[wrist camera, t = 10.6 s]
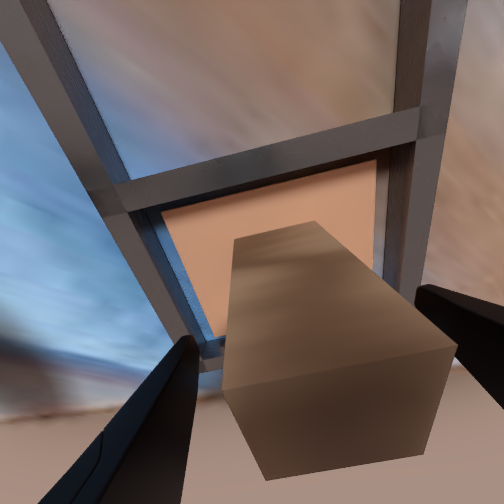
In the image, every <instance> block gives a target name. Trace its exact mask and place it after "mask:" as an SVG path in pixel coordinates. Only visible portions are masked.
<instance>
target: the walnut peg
mask: <svg viewBox="0 0 504 504" xmlns="http://www.w3.org/2000/svg"><path fill="white" fill-rule="evenodd" d="M457 346H458V345H457V344H456V343H455V342H454V341H453V340H451V339H450V338H449V337H448V336H447V335H446V334H445V333H443V332H442V331H441V330H440V329H439V328H438V327H437V326H435V325H434V324H433V323H432V322H431V321H430V320H428V319H427V318H426V317H425V316H424V315H423V314H422V313H420V312H419V311H418V310H417V309H416V308H415V307H413V306H412V305H411V304H410V303H409V302H408V301H407V300H405V299H404V298H403V297H402V296H401V295H400V294H399V293H397V292H396V291H395V290H394V289H393V288H392V287H390V286H389V285H388V284H387V283H386V282H385V281H384V280H382V279H381V278H380V277H379V276H378V275H377V274H376V273H374V272H373V271H372V270H371V269H370V268H369V267H367V266H366V265H365V264H364V263H363V262H362V261H361V260H359V259H358V258H357V257H356V256H355V255H354V254H353V253H351V252H350V251H349V250H348V249H347V248H346V247H344V246H343V245H342V244H341V243H340V242H339V241H338V240H336V239H335V238H334V237H333V236H332V235H331V234H330V233H328V232H327V231H326V230H325V229H324V228H323V227H321V226H320V225H319V224H318V223H317V222H316V221H315V220H314V221H310V222H306V223H301V224H297V225H293V226H288V227H284V228H280V229H275V230H271V231H267V232H262V233H258V234H254V235H249V236H245V237H241V238H237V239H234V245H233V257H232V269H231V281H230V293H229V305H228V317H227V329H226V342H225V354H224V366H223V378H222V390H221V391H222V393H223V395H224V397H225V399H226V401H227V403H228V405H229V407H230V409H231V411H232V413H233V415H234V417H235V419H236V421H237V423H238V425H239V427H240V429H241V431H242V433H243V436H244V438H245V440H246V442H247V443H248V446H249V448H250V450H251V452H252V454H253V456H254V458H255V460H256V462H257V464H258V466H259V468H260V470H261V472H262V474H263V476H264V478H265V480H267V481H268V480H274V479H280V478H286V477H291V476H297V475H303V474H309V473H315V472H321V471H327V470H333V469H339V468H345V467H351V466H357V465H363V464H369V463H375V462H381V461H387V460H393V459H399V458H405V457H411V456H417V455H423V454H424V451H425V447H426V444H427V441H428V438H429V434H430V432H431V428H432V425H433V422H434V419H435V416H436V413H437V409H438V406H439V403H440V400H441V397H442V394H443V390H444V387H445V384H446V381H447V378H448V375H449V371H450V368H451V365H452V362H453V359H454V356H455V352H456V349H457Z"/></svg>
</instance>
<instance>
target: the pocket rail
mask: <svg viewBox="0 0 504 504" xmlns="http://www.w3.org/2000/svg"><path fill="white" fill-rule="evenodd" d="M467 2H468V0H401V12H400V28H399V43H398V58H397V73H396V89H395V104H394V113H391V114H388V115H384V116H380V117H376V118H372V119H368V120H364V121H360V122H356V123H353V124H349V125H345V126H341V127H337V128H333V129H329V130H325V131H321V132H318V133H314V134H310V135H306V136H302V137H298V138H294V139H290V140H286V141H282V142H279V143H275V144H271V145H267V146H263V147H259V148H255V149H251V150H247V151H244V152H240V153H236V154H232V155H228V156H224V157H220V158H216V159H212V160H209V161H205V162H201V163H197V164H193V165H189V166H185V167H181V168H177V169H173V170H170V171H166V172H162V173H158V174H154V175H150V176H146V177H142V178H138V179H135V180H131V181H130V179H129V177H128V174H127V172H126V170H125V168H124V166H123V164H122V162H121V160H120V157H119V155H118V153H117V151H116V149H115V147H114V145H113V143H112V140H111V138H110V136H109V134H108V132H107V130H106V128H105V125H104V123H103V121H102V119H101V117H100V115H99V113H98V111H97V108H96V106H95V104H94V102H93V100H92V98H91V96H90V93H89V91H88V89H87V87H86V85H85V83H84V81H83V79H82V76H81V74H80V72H79V70H78V68H77V66H76V64H75V61H74V59H73V57H72V55H71V53H70V51H69V49H68V47H67V44H66V42H65V40H64V38H63V36H62V34H61V32H60V30H59V27H58V25H57V23H56V21H55V19H54V17H53V15H52V12H51V10H50V8H49V6H48V4H47V2H46V0H0V41H1V43H2V44H3V46H4V48H5V50H6V51H7V53H8V55H9V57H10V58H11V60H12V62H13V64H14V65H15V67H16V69H17V71H18V72H19V74H20V76H21V78H22V79H23V81H24V83H25V85H26V86H27V88H28V90H29V92H30V93H31V95H32V97H33V99H34V100H35V102H36V104H37V106H38V107H39V109H40V111H41V113H42V114H43V116H44V118H45V120H46V121H47V123H48V125H49V127H50V128H51V130H52V132H53V134H54V135H55V137H56V139H57V141H58V142H59V144H60V146H61V148H62V149H63V151H64V153H65V155H66V156H67V158H68V160H69V162H70V163H71V165H72V167H73V169H74V170H75V172H76V174H77V176H78V177H79V179H80V181H81V182H82V184H83V186H84V188H85V189H86V191H87V193H88V195H89V196H90V198H91V200H92V202H93V203H94V205H95V207H96V209H97V210H98V212H99V214H100V216H101V217H102V219H103V221H104V223H105V224H106V226H107V228H108V230H109V231H110V233H111V235H112V237H113V238H114V240H115V242H116V244H117V245H118V247H119V249H120V251H121V252H122V254H123V256H124V258H125V259H126V261H127V263H128V265H129V266H130V268H131V270H132V272H133V273H134V275H135V277H136V279H137V280H138V282H139V284H140V286H141V287H142V289H143V291H144V293H145V294H146V296H147V298H148V300H149V301H150V303H151V305H152V307H153V308H154V310H155V312H156V314H157V315H158V317H159V319H160V321H161V322H162V324H163V326H164V328H165V329H166V331H167V333H168V335H169V336H170V338H171V340H172V342H173V343H174V345H175V343H176V342H177V341H178V340H179V339H180V337H182V336H184V335H189V334H192V335H193V336H194V338H195V340H196V342H197V344H198V346H199V349H200V361H199V373H203V372H208V371H213V370H218V369H223V366H224V354H225V342H226V338H221V339H216V340H212V341H207V342H206V341H205V339H204V337H203V334H202V332H201V330H200V328H199V326H198V324H197V322H196V319H195V317H194V315H193V313H192V311H191V309H190V307H189V305H188V302H187V300H186V298H185V296H184V294H183V292H182V290H181V287H180V285H179V283H178V281H177V279H176V277H175V275H174V273H173V270H172V268H171V266H170V264H169V262H168V260H167V258H166V255H165V253H164V251H163V249H162V247H161V245H160V243H159V241H158V238H157V236H156V234H155V232H154V230H153V228H152V226H151V224H150V221H149V219H148V217H147V215H146V213H145V211H144V209H143V208H146V207H150V206H154V205H158V204H162V203H166V202H170V201H174V200H178V199H182V198H186V197H190V196H194V195H198V194H202V193H206V192H210V191H214V190H218V189H222V188H226V187H230V186H234V185H238V184H242V183H246V182H250V181H254V180H259V179H263V178H267V177H271V176H275V175H279V174H283V173H287V172H291V171H295V170H299V169H303V168H307V167H311V166H315V165H319V164H323V163H327V162H331V161H335V160H339V159H343V158H347V157H351V156H355V155H359V154H363V153H367V152H371V151H375V150H379V149H383V148H387V147H391V146H392V150H391V165H390V180H389V195H388V211H387V226H386V241H385V256H384V272H383V280H384V281H385V282H386V283H387V284H388V285H389V286H390V287H392V288H393V289H394V290H395V291H396V292H397V293H399V294H400V295H401V296H402V297H403V298H404V299H405V300H407V301H408V302H409V303H410V304H411V305H412V306H413V307H415V305H414V300H415V293H416V288H417V287H418V286H421V280H422V274H423V268H424V262H425V256H426V250H427V244H428V238H429V232H430V225H431V219H432V213H433V207H434V201H435V195H436V189H437V183H438V177H439V171H440V165H441V159H442V153H443V147H444V141H445V135H446V129H447V123H448V117H449V111H450V105H451V99H452V93H453V87H454V81H455V75H456V68H457V62H458V56H459V50H460V44H461V38H462V32H463V26H464V20H465V14H466V8H467ZM376 161H377V159H372V160H368V161H364V162H360V163H356V164H352V165H348V166H344V167H340V168H336V169H332V170H328V171H324V172H319V173H315V174H311V175H307V176H303V177H299V178H295V179H291V180H287V181H283V182H279V183H275V184H271V185H267V186H263V187H259V188H254V189H250V190H246V191H242V192H238V193H234V194H230V195H226V196H222V197H218V198H214V199H210V200H206V201H202V202H198V203H194V204H190V205H185V206H181V207H177V208H173V209H169V210H165V211H162V212H161V214H162V217H163V219H164V221H165V224H166V226H167V228H168V230H169V233H170V235H171V237H172V240H173V242H174V244H175V247H176V249H177V251H178V253H179V256H180V258H181V260H182V263H183V265H184V267H185V270H186V272H187V274H188V276H189V279H190V281H191V283H192V286H193V288H194V290H195V293H196V295H197V297H198V299H199V302H200V304H201V306H202V309H203V311H204V313H205V315H206V318H207V320H208V322H209V325H210V327H211V329H212V332H213V334H214V336H215V337H219V336H224V335H226V329H227V317H228V305H229V293H230V281H231V269H232V257H233V245H234V239H237V238H241V237H245V236H249V235H254V234H258V233H262V232H267V231H271V230H275V229H280V228H284V227H288V226H293V225H297V224H301V223H306V222H310V221H314V220H315V221H316V222H317V223H318V224H319V225H320V226H321V227H323V228H324V229H325V230H326V231H327V232H328V233H330V234H331V235H332V236H333V237H334V238H335V239H336V240H338V241H339V242H340V243H341V244H342V245H343V246H344V247H346V248H347V249H348V250H349V251H350V252H351V253H353V254H354V255H355V256H356V257H357V258H358V259H359V260H361V261H362V262H363V263H364V264H365V265H366V266H367V267H369V268H370V269H371V270H372V268H373V241H374V214H375V188H376ZM415 308H416V307H415Z"/></svg>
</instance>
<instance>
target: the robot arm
mask: <svg viewBox="0 0 504 504" xmlns="http://www.w3.org/2000/svg"><path fill="white" fill-rule="evenodd" d="M414 305H415V307H416V309H417V310H418V311H419V312H420V313H422V314H423V315H424V316H425V317H426V318H427V319H428V320H430V321H431V322H432V323H433V324H434V325H435V326H437V327H438V328H439V329H440V330H441V331H442V332H443V333H445V334H446V335H447V336H448V337H449V338H450V339H451V340H453V341H454V342H455V343H456V344H457V345H458V346H457V349H456V352H455V357H456V358H457V360H458V361H459V362H460V363H461V364H462V365H463V366H464V367H465V368H466V369H467V370H468V371H469V372H470V374H471V375H472V376H473V377H474V378H475V379H476V380H477V381H478V382H479V383H480V384H481V385H482V387H483V388H484V389H485V390H486V391H487V392H488V393H489V394H490V395H491V396H492V397H493V398H494V400H495V401H496V402H497V403H498V404H499V405H500V406H501V407H502V408H503V409H504V306H500V305H497V304H494V303H491V302H487V301H484V300H481V299H477V298H474V297H471V296H468V295H464V294H461V293H458V292H454V291H451V290H448V289H445V288H441V287H438V286H435V285H431V284H426V285H422V286H418V287H417V288H416V293H415V300H414ZM199 361H200V349H199V346H198V344H197V342H196V340H195V338H194V336H193V335H192V334H189V335H184V336H182V337H180V339H179V340H178V341H177V342H176V343H175V345H174V346H173V347H172V348H171V349H170V350H169V352H168V353H167V354H166V355H165V356H164V358H163V359H162V360H161V361H160V362H159V364H158V365H157V366H156V367H155V368H154V370H153V371H152V372H151V373H150V374H149V375H148V377H147V378H146V379H145V380H144V381H143V383H142V384H141V385H140V386H139V387H138V389H137V390H136V391H135V392H134V393H133V394H132V396H131V397H130V398H129V399H128V400H127V402H126V403H125V404H124V405H123V406H122V408H121V409H120V410H119V411H118V412H117V414H116V415H115V416H114V417H113V418H112V419H111V421H110V422H109V423H108V424H107V426H106V427H105V428H104V430H103V431H102V432H101V433H100V434H99V435H98V436H97V437H96V438H95V440H94V441H93V442H92V443H91V444H90V446H89V447H88V448H87V449H86V450H85V451H84V453H83V454H82V455H81V456H80V457H79V458H78V459H77V461H76V462H75V463H74V464H73V465H72V467H70V469H69V470H68V471H67V472H66V473H65V474H64V475H63V476H62V478H61V479H60V480H59V481H58V482H57V483H56V484H55V485H54V486H53V487H52V489H51V490H50V491H49V492H48V493H47V494H46V495H45V496H44V497H43V498H42V499H41V501H40V502H39V503H38V504H180V503H181V497H182V490H183V484H184V477H185V471H186V465H187V458H188V452H189V445H190V439H191V432H192V426H193V420H194V413H195V407H196V401H197V393H198V378H199Z"/></svg>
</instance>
